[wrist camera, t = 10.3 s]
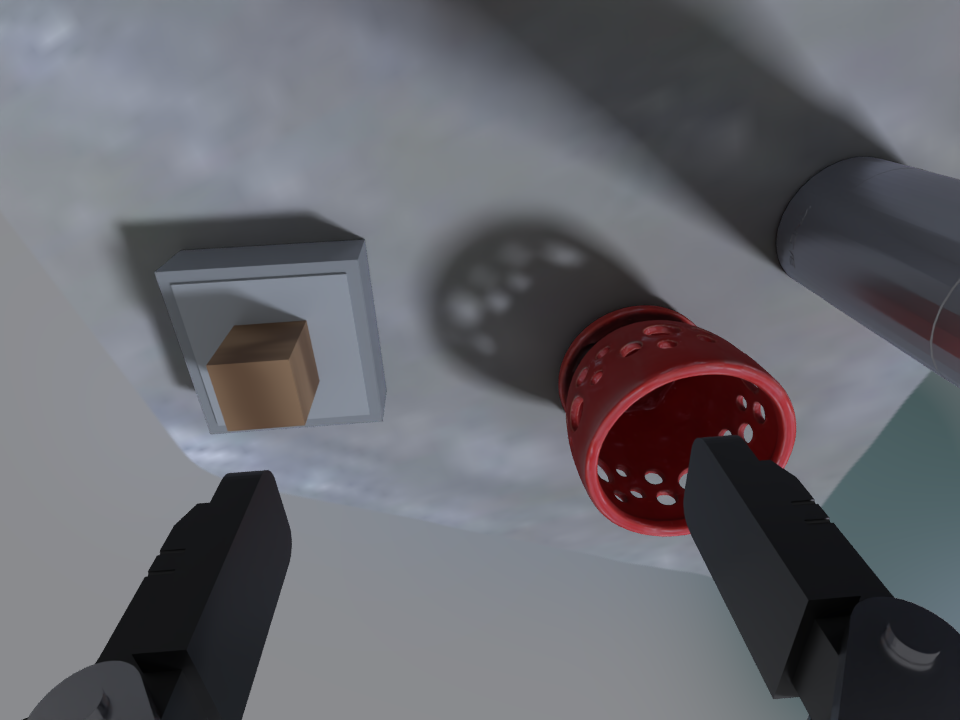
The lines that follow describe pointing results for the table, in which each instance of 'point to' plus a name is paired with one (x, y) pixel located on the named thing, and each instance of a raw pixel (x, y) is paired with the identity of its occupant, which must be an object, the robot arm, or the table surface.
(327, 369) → the pedestal
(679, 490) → the plant pot
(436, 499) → the table surface
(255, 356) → the walnut cube
